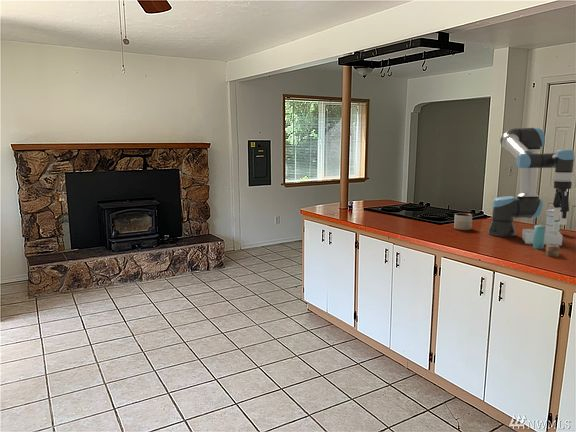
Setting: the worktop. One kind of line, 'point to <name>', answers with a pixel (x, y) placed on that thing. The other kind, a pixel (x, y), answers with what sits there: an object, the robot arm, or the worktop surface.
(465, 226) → the planter
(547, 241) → the grey tote
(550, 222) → the syrup box
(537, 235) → the teal cylinder
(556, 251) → the walnut cube
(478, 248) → the worktop surface
